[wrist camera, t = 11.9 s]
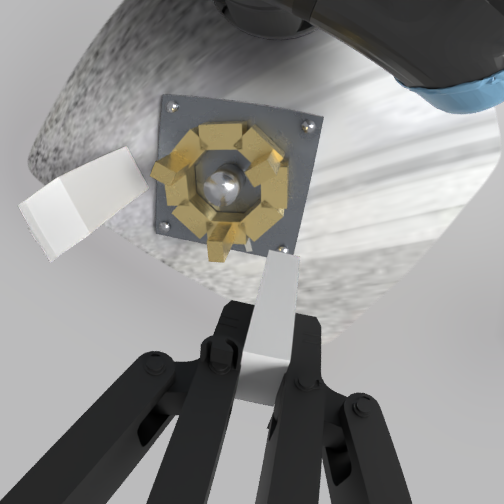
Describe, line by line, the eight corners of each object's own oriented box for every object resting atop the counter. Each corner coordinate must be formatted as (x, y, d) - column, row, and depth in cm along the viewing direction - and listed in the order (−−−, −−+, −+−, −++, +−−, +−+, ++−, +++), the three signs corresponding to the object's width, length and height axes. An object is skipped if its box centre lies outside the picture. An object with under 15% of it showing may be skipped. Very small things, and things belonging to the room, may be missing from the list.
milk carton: (127, 145, 41) (33, 189, 25) (150, 188, 44) (68, 252, 27) (94, 167, 43) (4, 217, 27) (116, 206, 46) (36, 271, 30)
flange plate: (166, 94, 37) (146, 96, 32) (323, 116, 35) (325, 120, 31) (158, 230, 47) (142, 247, 42) (291, 258, 45) (289, 280, 41)
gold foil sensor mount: (180, 231, 45) (157, 259, 38) (168, 124, 38) (139, 134, 31) (287, 236, 42) (282, 267, 36) (288, 121, 35) (284, 129, 28)
